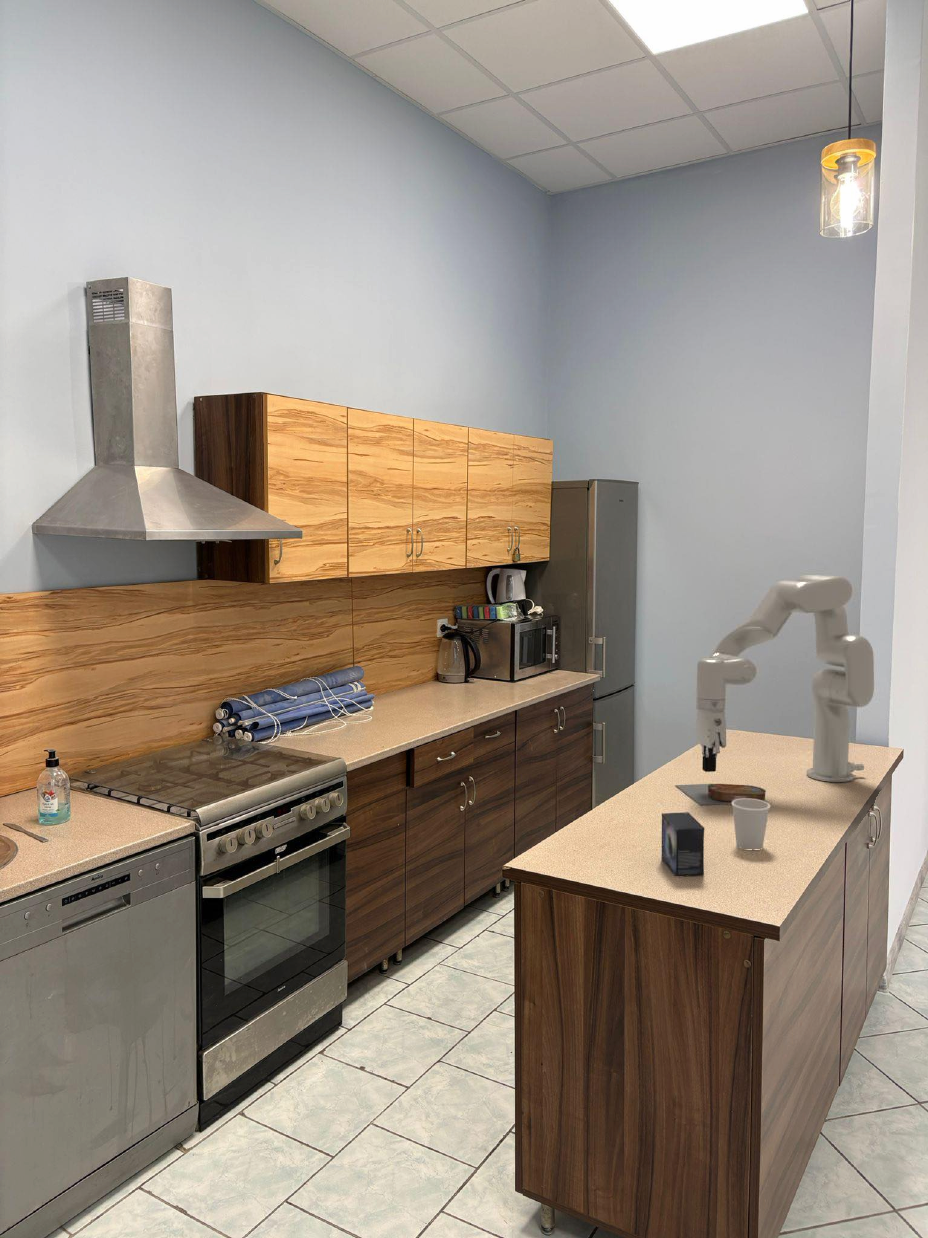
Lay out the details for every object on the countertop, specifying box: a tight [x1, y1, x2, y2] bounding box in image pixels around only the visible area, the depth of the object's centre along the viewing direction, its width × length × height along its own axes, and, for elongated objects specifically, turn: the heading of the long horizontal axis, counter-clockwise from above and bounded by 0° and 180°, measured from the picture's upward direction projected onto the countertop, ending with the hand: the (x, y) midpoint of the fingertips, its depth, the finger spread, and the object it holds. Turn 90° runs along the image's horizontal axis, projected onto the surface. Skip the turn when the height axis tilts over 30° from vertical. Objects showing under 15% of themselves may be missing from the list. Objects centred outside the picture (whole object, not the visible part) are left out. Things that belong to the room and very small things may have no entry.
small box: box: [660, 811, 705, 877], centre depth 192 cm, size 11×6×10 cm, turn 5°
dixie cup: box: [731, 798, 771, 850], centre depth 204 cm, size 8×8×10 cm
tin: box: [708, 783, 767, 802], centre depth 241 cm, size 15×3×8 cm
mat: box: [674, 783, 732, 806], centre depth 245 cm, size 11×18×1 cm, turn 8°
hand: (709, 770), depth 245 cm, fingers closed
